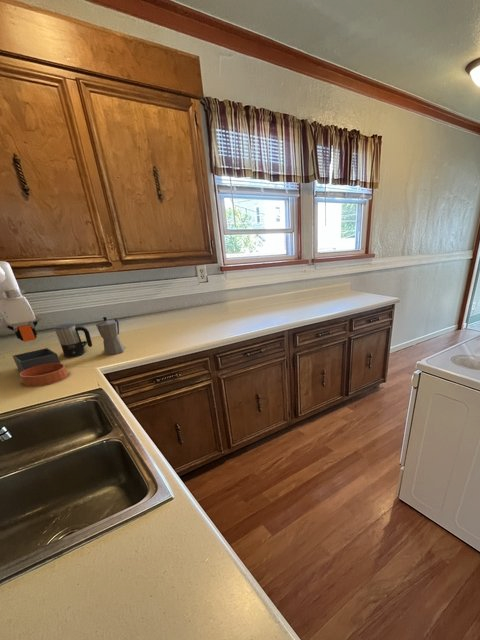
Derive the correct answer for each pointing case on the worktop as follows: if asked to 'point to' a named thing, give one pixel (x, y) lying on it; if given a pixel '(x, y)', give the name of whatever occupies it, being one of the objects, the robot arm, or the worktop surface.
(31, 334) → the block
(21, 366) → the bin
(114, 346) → the coffeepot
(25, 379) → the bowl
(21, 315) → the robot arm
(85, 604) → the worktop surface
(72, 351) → the milk frother
